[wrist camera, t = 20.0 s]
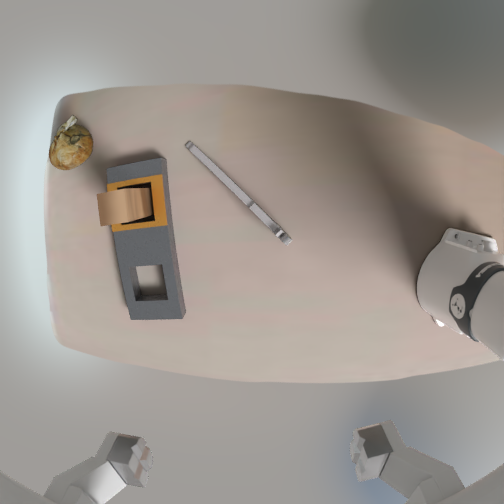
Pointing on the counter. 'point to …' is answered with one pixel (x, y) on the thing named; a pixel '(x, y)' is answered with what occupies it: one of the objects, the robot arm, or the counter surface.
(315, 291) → the counter surface
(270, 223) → the caliper
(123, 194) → the peg
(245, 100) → the counter surface
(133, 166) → the rail
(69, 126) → the onion
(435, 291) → the robot arm
